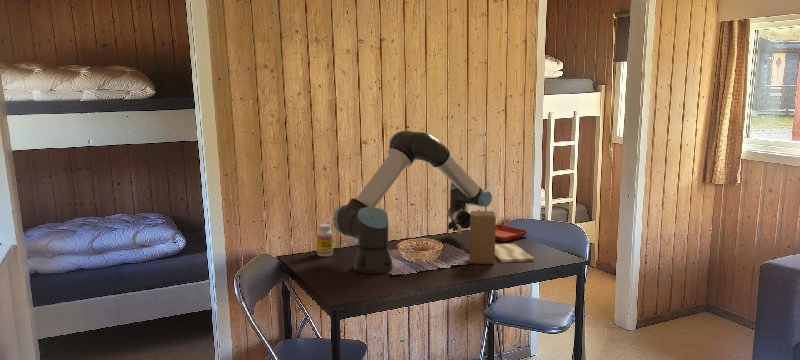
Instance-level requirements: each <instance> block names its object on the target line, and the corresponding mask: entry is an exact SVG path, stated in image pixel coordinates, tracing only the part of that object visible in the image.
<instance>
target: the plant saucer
mask: <svg viewBox="0 0 800 360" xmlns="http://www.w3.org/2000/svg"><path fill="white" fill-rule="evenodd" d="M528 232H529V231H528V230H527V229H526V230H525V229H520V228H517V227H512V226H508V225H502V224H496V228H495V241H497V242H498V241H499V242H503V243H506V242H508V241H509V240H510V241H512V239H513V240H517V239H521V238H523V237H524V236H525V235H526V234H527V233H528ZM520 237H521V238H520ZM516 238H517V239H516ZM505 241H506V242H505Z"/></svg>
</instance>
